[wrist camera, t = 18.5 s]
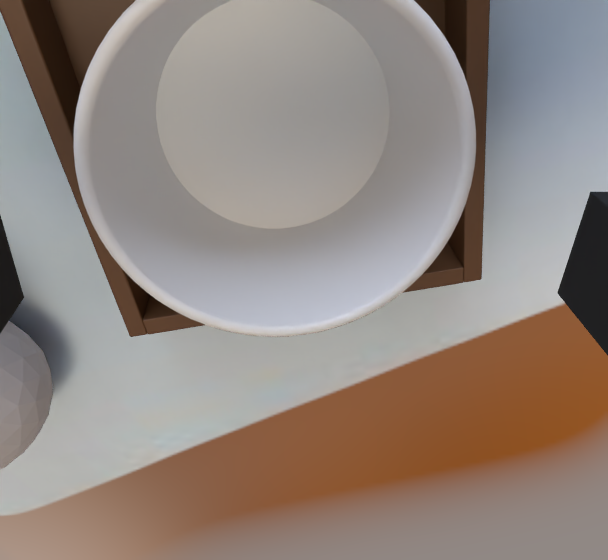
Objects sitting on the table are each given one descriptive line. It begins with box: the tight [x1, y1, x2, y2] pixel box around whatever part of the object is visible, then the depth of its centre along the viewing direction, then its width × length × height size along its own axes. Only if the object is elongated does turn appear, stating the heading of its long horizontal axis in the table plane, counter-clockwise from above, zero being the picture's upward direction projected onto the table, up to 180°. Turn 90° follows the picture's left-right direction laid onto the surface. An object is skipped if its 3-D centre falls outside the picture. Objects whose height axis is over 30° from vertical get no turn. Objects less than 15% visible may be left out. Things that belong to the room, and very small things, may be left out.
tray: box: [0, 0, 490, 337], centre depth 21 cm, size 16×16×3 cm
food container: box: [74, 0, 476, 337], centre depth 19 cm, size 12×12×6 cm
